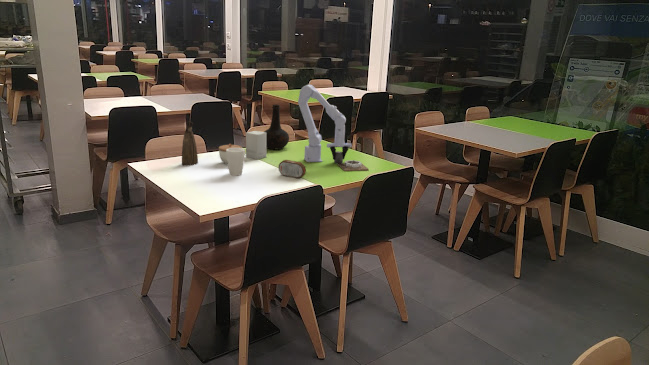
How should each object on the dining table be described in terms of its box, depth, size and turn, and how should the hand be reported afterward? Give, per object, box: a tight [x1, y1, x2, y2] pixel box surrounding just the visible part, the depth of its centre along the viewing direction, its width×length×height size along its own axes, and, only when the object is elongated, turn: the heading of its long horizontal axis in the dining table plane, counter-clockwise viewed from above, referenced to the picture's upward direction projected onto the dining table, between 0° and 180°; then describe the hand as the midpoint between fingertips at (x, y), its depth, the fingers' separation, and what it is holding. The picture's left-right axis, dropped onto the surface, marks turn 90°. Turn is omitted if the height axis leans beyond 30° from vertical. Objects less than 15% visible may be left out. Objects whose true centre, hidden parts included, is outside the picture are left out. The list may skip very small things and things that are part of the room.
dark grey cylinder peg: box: [333, 150, 344, 164], centre depth 282 cm, size 5×5×6 cm
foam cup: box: [226, 147, 246, 177], centre depth 249 cm, size 10×9×13 cm
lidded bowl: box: [218, 143, 243, 165], centre depth 270 cm, size 13×13×11 cm
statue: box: [181, 119, 199, 166], centre depth 263 cm, size 9×8×25 cm
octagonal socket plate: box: [337, 159, 370, 172], centre depth 273 cm, size 14×14×3 cm
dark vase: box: [263, 104, 290, 150], centre depth 308 cm, size 18×18×28 cm
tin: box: [278, 159, 307, 179], centre depth 249 cm, size 15×3×8 cm, turn 65°
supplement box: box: [245, 130, 267, 160], centre depth 285 cm, size 9×9×15 cm
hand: (338, 159), depth 282 cm, fingers closed on dark grey cylinder peg, 5 cm apart
